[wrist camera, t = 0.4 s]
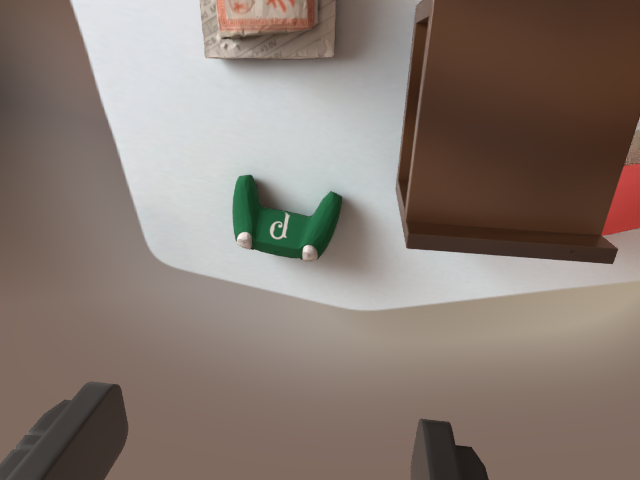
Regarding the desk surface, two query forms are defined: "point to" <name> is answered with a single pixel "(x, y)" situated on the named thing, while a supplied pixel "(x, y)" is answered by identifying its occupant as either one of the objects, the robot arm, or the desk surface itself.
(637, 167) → the red kidney bean
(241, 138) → the desk surface
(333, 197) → the gaming controller
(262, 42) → the packaged product
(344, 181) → the desk surface
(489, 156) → the box
